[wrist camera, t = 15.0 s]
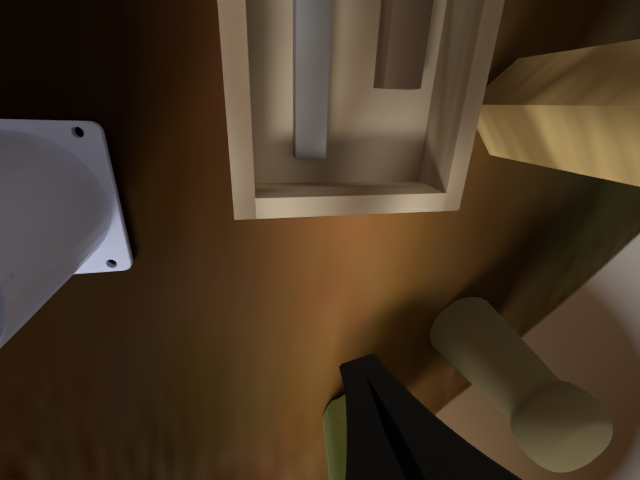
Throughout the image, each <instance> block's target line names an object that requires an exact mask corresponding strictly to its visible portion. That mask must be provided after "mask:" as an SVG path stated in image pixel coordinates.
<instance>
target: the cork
mask: <svg viewBox="0 0 640 480" xmlns="http://www.w3.org/2000/svg"><path fill="white" fill-rule="evenodd" d="M430 341H431V344H432V346H433V347H434V348H435V349H436V350H437V351H438V352H439V353H440V354H441V355H442V356H443V357H444V358H445V359H446V360H447V361H448V362H450V363H451V364H452V365H453V366H454V367H455V368H456V369H457V370H458V371H459V372H460V373H461V374H462V375H463V376H464V377H465V378H466V379H467V380H468V381H469V382H470V383H472V384H473V385H474V386H475V387H476V388H477V389H478V390H479V391H480V392H481V393H482V394H483V395H484V396H485V397H486V398H487V399H488V400H489V401H490V402H491V403H492V404H494V405H495V406H496V407H497V408H498V409H499V410H500V411H501V412H502V413H503V414H504V415H505V416H506V417H507V418H508V419H509V420H510V424H511V429H512V433H513V435H514V437H515V439H516V441H517V443H518V444H519V446H520V447H521V448H522V449H523V451H524V452H525V453H526V454H527V455H528V456H529V457H530V458H531V459H532V460H534V461H535V462H536V463H537V464H538V465H539V466H541V467H543V468H545V469H547V470H550V471H553V472H569V471H573V470H576V469H578V468H580V467H582V466H584V465H586V464H588V463H589V462H591V461H592V460H594V459H595V458H596V457H597V456H598V455H599V454H601V453H602V452H603V451H604V449H605V448H606V447H607V446H608V444H609V442H610V440H611V438H612V433H613V424H612V422H611V419H610V417H609V415H608V413H607V412H606V410H605V409H604V407H603V406H602V405H601V404H600V402H599V401H598V400H597V399H596V398H594V397H593V396H592V395H591V394H589V393H588V392H587V391H585V390H583V389H581V388H580V387H578V386H576V385H574V384H572V383H569V382H565V381H560V380H559V379H558V378H557V377H556V376H555V374H554V373H553V372H552V371H551V370H550V369H549V368H548V367H547V366H546V365H545V364H544V362H542V360H541V359H540V358H539V357H538V356H537V355H536V354H535V353H534V352H533V351H532V349H531V348H530V347H529V346H528V345H527V344H526V343H525V342H524V341H523V340H522V339H521V337H520V336H519V335H518V334H517V333H516V332H515V331H514V330H513V329H512V328H511V327H510V326H509V324H508V323H507V322H506V321H505V320H504V319H503V318H502V317H501V316H500V315H499V314H498V312H497V311H496V310H495V309H494V308H493V307H492V306H491V305H490V304H489V303H488V302H487V301H486V300H484V299H482V298H480V297H467V298H462V299H459V300H457V301H455V302H453V303H451V304H450V305H448V306H447V307H446V308H445V309H443V310H442V311H441V312H440V314H439V315H438V316H437V317H436V319H435V320H434V322H433V325H432V327H431V329H430Z"/></svg>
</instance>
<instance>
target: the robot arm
mask: <svg viewBox="0 0 640 480" xmlns="http://www.w3.org/2000/svg"><path fill="white" fill-rule="evenodd" d="M76 127H80V128H81V129H82V130H83V131H84V136H83V137H79V136H78V135H77V134H76V132H75V128H76ZM110 259H111V260H114V261H116V263H117V264H116V265H114V264H111V263H110V262H109V260H110ZM132 264H133V257H132V252H131V248H130V244H129V239H128V235H127V230H126V226H125V222H124V217H123V213H122V208H121V204H120V200H119V195H118V191H117V186H116V182H115V177H114V173H113V169H112V164H111V160H110V155H109V151H108V147H107V142H106V138H105V133H104V130H103V128H102V127H101V126H100V125H99V124H98V123H96V122H93V121H70V120H26V119H0V348H1V347H2V346H3V345H4V344H5V343H6V342H7V341H8V340H9V339H10V338H11V337H12V336H13V335H14V334H15V333H16V332H17V331H18V330H19V329H20V328H21V327H22V326H23V325H24V324H25V323H26V322H27V321H28V320H29V319H30V318H31V317H32V316H33V315H34V314H35V313H36V312H37V311H38V310H39V309H40V308H41V306H42V305H43V304H44V303H45V302H46V301H47V300H48V299H49V298H50V297H51V296H52V295H53V294H54V293H55V292H56V291H57V290H58V289H59V288H60V287H61V286H62V285H63V284H64V283H65V282H66V281H67V280H68V279H69V278H70V277H71V276H72V275H73V274H81V273H95V272H109V271H123V270H127V269H129V268H130V267H131V265H132ZM339 368H340V372H341V376H342V380H343V384H344V392H345V401H346V418H347V456H346V476H345V480H522V479H520V478H519V477H517V476H516V475H514V474H513V473H511V472H510V471H508V470H506V469H505V468H504V467H502V466H501V465H499V464H498V463H496V462H495V461H493V460H492V459H490V458H489V457H487V456H486V455H484V454H483V453H482V452H480V451H479V450H478V449H476V448H475V447H474V446H472V445H471V444H470V443H468V442H467V441H466V440H464V439H463V438H462V437H460V436H459V435H458V434H457V433H455V432H454V431H453V430H452V429H450V428H449V427H448V426H447V425H446V424H444V423H443V422H442V421H441V420H439V419H438V418H437V417H436V416H435V415H434V414H433V413H432V412H430V411H429V410H428V409H427V408H426V407H425V406H424V405H423V404H422V403H420V402H419V401H418V400H417V399H416V398H415V397H414V396H413V395H412V394H411V393H410V392H409V391H408V390H407V389H406V388H405V387H404V386H403V385H402V384H401V383H400V382H399V381H398V380H397V379H396V378H395V377H394V375H393V374H392V373H391V372H390V371H389V370H388V369H387V368H386V366H385V365H384V364H383V363H382V362H381V360H380V359H379V358H378V357H377V355H375V354H370V355H367V356H364V357H361V358H358V359H355V360H352V361H349V362H346V363H343V364H341V365H340V367H339Z"/></svg>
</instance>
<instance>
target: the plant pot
mask: <svg viewBox="0 0 640 480" xmlns="http://www.w3.org/2000/svg"><path fill="white" fill-rule="evenodd" d="M323 428H324V437H325V446H326V455H327V464H328V473H329V480H345V476H346V456H347V418H346V401H345V394H344V395H343V396H342V397H340V398H338V399H336V400H333V401H331V403H330V404H329V405H328V406H327V408H326V410H325V412H324V415H323Z"/></svg>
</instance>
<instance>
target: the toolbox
mask: <svg viewBox="0 0 640 480" xmlns="http://www.w3.org/2000/svg"><path fill="white" fill-rule="evenodd" d="M504 2H505V0H217V3H218V15H219V28H220V41H221V54H222V67H223V79H224V92H225V105H226V118H227V130H228V143H229V156H230V169H231V181H232V194H233V207H234V220H241V219H265V218H289V217H313V216H336V215H360V214H384V213H407V212H431V211H455V210H459V207H460V202H461V198H462V193H463V189H464V184H465V180H466V175H467V171H468V166H469V162H470V157H471V152H472V148H473V143H474V139H475V134H476V130H477V125H478V121H479V116H480V112H481V107H482V102H483V98H484V93H485V89H486V84H487V80H488V75H489V71H490V66H491V62H492V57H493V52H494V48H495V43H496V39H497V34H498V30H499V25H500V21H501V16H502V12H503V7H504Z"/></svg>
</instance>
